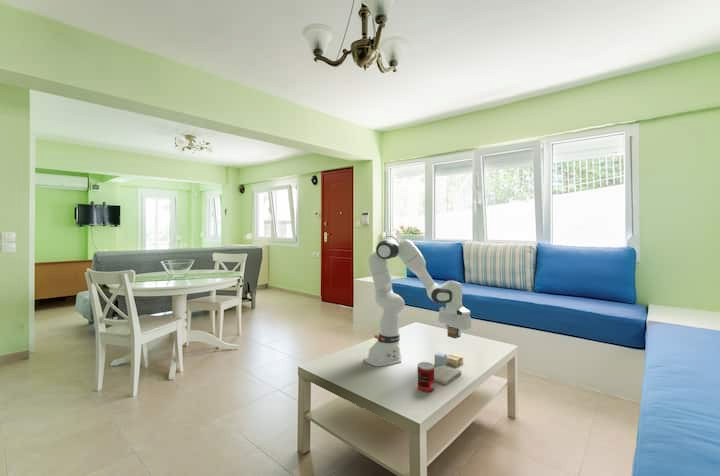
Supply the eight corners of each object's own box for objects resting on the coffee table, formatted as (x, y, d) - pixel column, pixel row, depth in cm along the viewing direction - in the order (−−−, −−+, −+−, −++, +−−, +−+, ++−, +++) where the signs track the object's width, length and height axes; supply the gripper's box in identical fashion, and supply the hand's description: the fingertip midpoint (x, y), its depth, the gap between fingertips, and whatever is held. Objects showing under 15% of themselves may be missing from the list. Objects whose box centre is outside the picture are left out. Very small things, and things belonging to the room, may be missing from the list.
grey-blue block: (442, 367, 174) (442, 356, 174) (434, 365, 177) (434, 354, 177) (446, 364, 178) (446, 354, 178) (438, 362, 181) (438, 352, 181)
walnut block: (454, 338, 176) (454, 329, 176) (447, 336, 180) (447, 327, 180) (460, 336, 179) (460, 328, 179) (453, 334, 183) (453, 326, 183)
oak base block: (456, 367, 175) (456, 360, 175) (445, 363, 180) (445, 356, 180) (463, 364, 179) (463, 356, 179) (452, 360, 185) (452, 353, 185)
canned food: (431, 384, 154) (431, 361, 154) (436, 392, 146) (436, 368, 146) (416, 384, 154) (416, 361, 154) (419, 392, 146) (419, 368, 146)
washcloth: (462, 374, 166) (462, 369, 166) (446, 386, 153) (446, 380, 153) (441, 368, 174) (441, 363, 174) (424, 379, 161) (424, 373, 161)
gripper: (436, 306, 186) (436, 330, 186) (465, 313, 170) (465, 339, 170) (443, 305, 190) (443, 328, 190) (473, 312, 173) (472, 337, 173)
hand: (454, 333), depth 180 cm, fingers closed on walnut block, 5 cm apart
